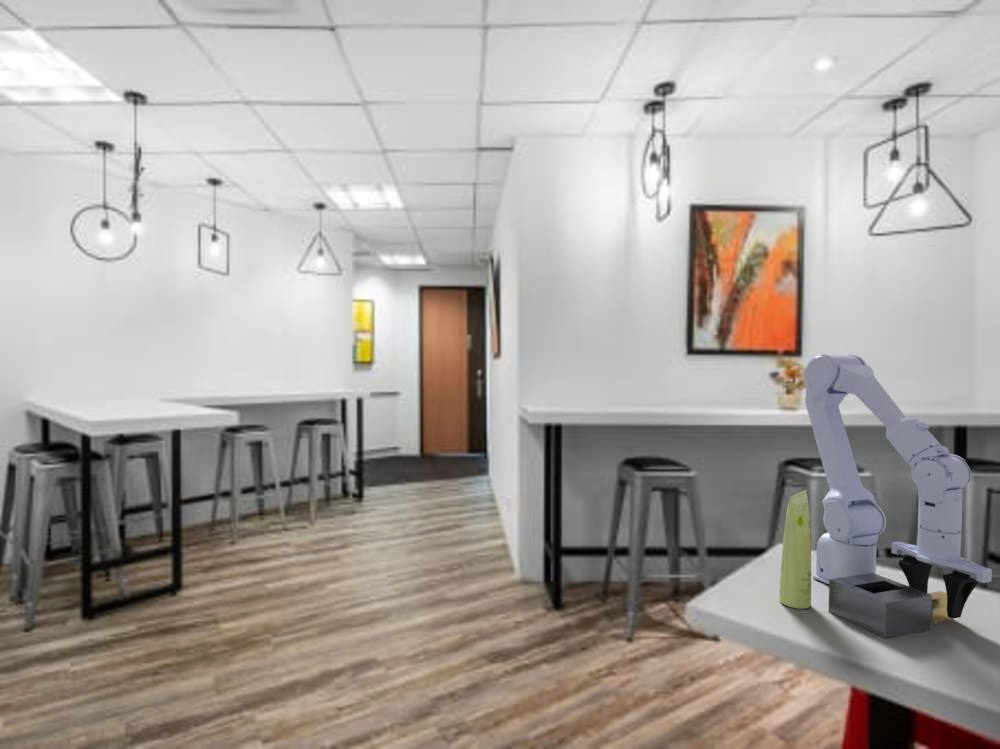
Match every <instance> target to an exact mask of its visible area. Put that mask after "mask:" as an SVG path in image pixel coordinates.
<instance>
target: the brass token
mask: <svg viewBox="0 0 1000 749" xmlns="http://www.w3.org/2000/svg"><path fill="white" fill-rule="evenodd" d="M927 593H928V592H927ZM928 594H931V595H932V611H931V624H936V623H937V624H938V623H941V622H946V621H951V620H953V619H952V618H949V617H948V615H947V592H946V591H945V592H944V591H942V590H939V591H934V592H929V593H928Z"/></svg>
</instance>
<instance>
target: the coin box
mask: <svg viewBox="0 0 1000 749" xmlns="http://www.w3.org/2000/svg"><path fill="white" fill-rule="evenodd" d="M931 611H932V595H931V594H928V592H927V593H925V592H922V591H920V590H917V589H914V588H912V587H909V585H906V584H903V583H900V582H897V581H895V580H893V579H890V578H887V577H885V576H882V575H879V574H874V573H868V574H862V575H855V576H848V577H841V578H834V579H829V584H828V612H829V613H831V614H833V615H836V616H838V617H840V618H842V619H844V620H846V621H848V622H849V623H850V622H851V623H852V624H854V625H856V626H858V627H860V628H862V629H864V630H867V631H869V632H871V633H873V634H875V635H877V636H879V637H882V638H884V639H889V638H894V637H895V638H896V637H900V636H905V635H910V634H914V633H920V632H925V631H931V630H932V623H931Z"/></svg>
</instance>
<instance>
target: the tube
mask: <svg viewBox="0 0 1000 749" xmlns="http://www.w3.org/2000/svg"><path fill="white" fill-rule="evenodd" d="M810 518H811V517H810V506H809V499H808V491H807V489H805V490H803V491H800V492H798V493H796V494H794V495H791V496H789V500H788V503H787V508H786V515H785V523H784V532H783V539H782V550H781V551H782V552H781V565H780V582H779V602H780V603H781V604H782V605H785V606H786V607H790V608H793V609H799V610H802V609H803V610H806V609H808V608H810V607H811V606H812V542H811V522H810Z"/></svg>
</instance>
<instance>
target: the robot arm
mask: <svg viewBox="0 0 1000 749" xmlns="http://www.w3.org/2000/svg"><path fill="white" fill-rule="evenodd" d="M802 374H803V377H804V382H805V384H806V388H805V398H804V400H805V401H804V403H805V407H806V410H807V414H808V417H809V421H810V424H811V428H812V432H813V435H814V438H815V442H816V446H817V448H818V452H819V457H820V461H821V463H822V468H823V471H824V475H825V478H826V481H827V485H828V488H829V491H828V492H827V494H826V495H825V496H824V498H823V499H822V505H823V518H822V522H823V527H824V528H825V530H826V533H825V532H824V533H823V534H822V535H821V536H820V537H819V539H818V541H817V545H816V564H815V566H816V568H815V571H816V572H815V574H813V575H812V578H813V579H814V580H818V581H820V582H822V583H824V584H827V585H829V579H834V578H841V577H848V576H855V575H862V574H868V573H874V574H876V573H877V572H876V570H877V541H879V535H880V534H882V533H883V532H884V531H885V529H886V526H887V518H886V514H885V513H884V511H883V510H882V508H881V507H880V506H879V505H878V503H877V502H876V498H875V495H874V494H873V493H872V492H871V491H869V490H868V489H867V488H866V487H865V486H863V484H862V480H861V477H860V475H859V471H858V468H857V467H858V466H857V464H856V460H855V458H854V455H853V450H852V448H851V444H850V440H849V437H848V433H847V430H846V427H845V423H844V420H843V417H842V413H841V410H840V404H841V403H842V401H843V400H844V399H845V398H846V397H848V395H849V394H850V395H854V396H856V397H857V398H858V399H859V401H861V402H862V403H863V404H864V406H865V407H867V409H869V411H870V412H871V413H872V414H873V415H875V417H876V418H877V419H878V420H879V421H880V422H881V423H882V424H883V425H884V426H885V427H886V429H885V430H886V432H885V439H887V441H888V442H889V443H890V444H891V445H892V446H893V447H894V449H895V450H896V451H897V452H898V454H899V455H900V457H902V458H903V460H904V461H905V463H907V464H908V465H909V467H910V468H911V469H912V470H910V476H911V477H910V478H911V480H912V483H914V484H915V486H916V488H917V497H918V510H917V511H918V514H917V515H918V516H917V540H916V541H917V545H916V544H910V543H906V542H902V541H894V542H893V541H892V542H891V552H890V553H891V554H894V555H897V556H899V555H900V556H903V559H899V560H898V566H899V568H901V569H900V570H902V572H903V574H904V576H905V579H906V581H907V584H908V586H909V587H912V588H914V589H917V590H920V591H922V592H925V593H928V587H929V586H928V585H929V578H930V574H931V571H932V567H933V566H934V567H937V568H940V569H944V570H947V571H950V572H952V573H946V574H943V575H942V579H943V583H944V585H945V593H947V615H948V617H949V618H952V620H954V619H958V618H962V614H963V610H964V608H965V604H967V600H968V598H969V597H970V595H971V594H972V592H973V591H974V590H975V588H976V587H977V586H978V585H979V584H980V583H982V584H984V583H985V584H986V583H992V579H993V578H992V575H993V570H992V568H989V567H985V566H982V565H980V564H978V563H975V562H973V561H971V560H968V559H966V558H964V557H961V551H962V550H961V549H962V526H963V525H962V524H963V495H964V493H963V490H964V488H966V487H967V486H968V485H969V483H970V481H971V479H972V471H971V468H970V467H969V465H968V463H967V462H966V460H965V459H964V458H963V457H961V456H959V455H958V454H953V453H952V454H951V452H950V450H949V449H948V447H946V446H943V445H942V444H941V443H940V442H939V440H937V439H936V438H935V437H934V435H933V434H932V433H931V432H930V431H929V430H928V429H929V428H930V426H929V425H928V424H927V423H926V422H925V421H920V420H919V419H918V418H914V417H907V416H906V415H905V414H904V413H903V411H902V410H901V409H900V407H899V406H898V405H897V404H896V403H895V401H894V400H893V399H892V398H891V396H890V394H889V393H888V392H887V391H886V390H885V388H884V387H883V386H882V385H881V383H880V382H879V381H878V380H877V378H876V376H875V374H874V369H873V368H872V367H871V366H869V365H868V364H867V363H866V361H865V360H864V359H863V358H862V357H860V356H858V355H856V354H847V355H841V354H840V355H838V354H826V353H825V354H824V353H820V354H816V355H814V356H813V357H812V358H811V359H810V360H809V361H808V363H807V365H806V366H805V368H804V369H803V371H802Z"/></svg>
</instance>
